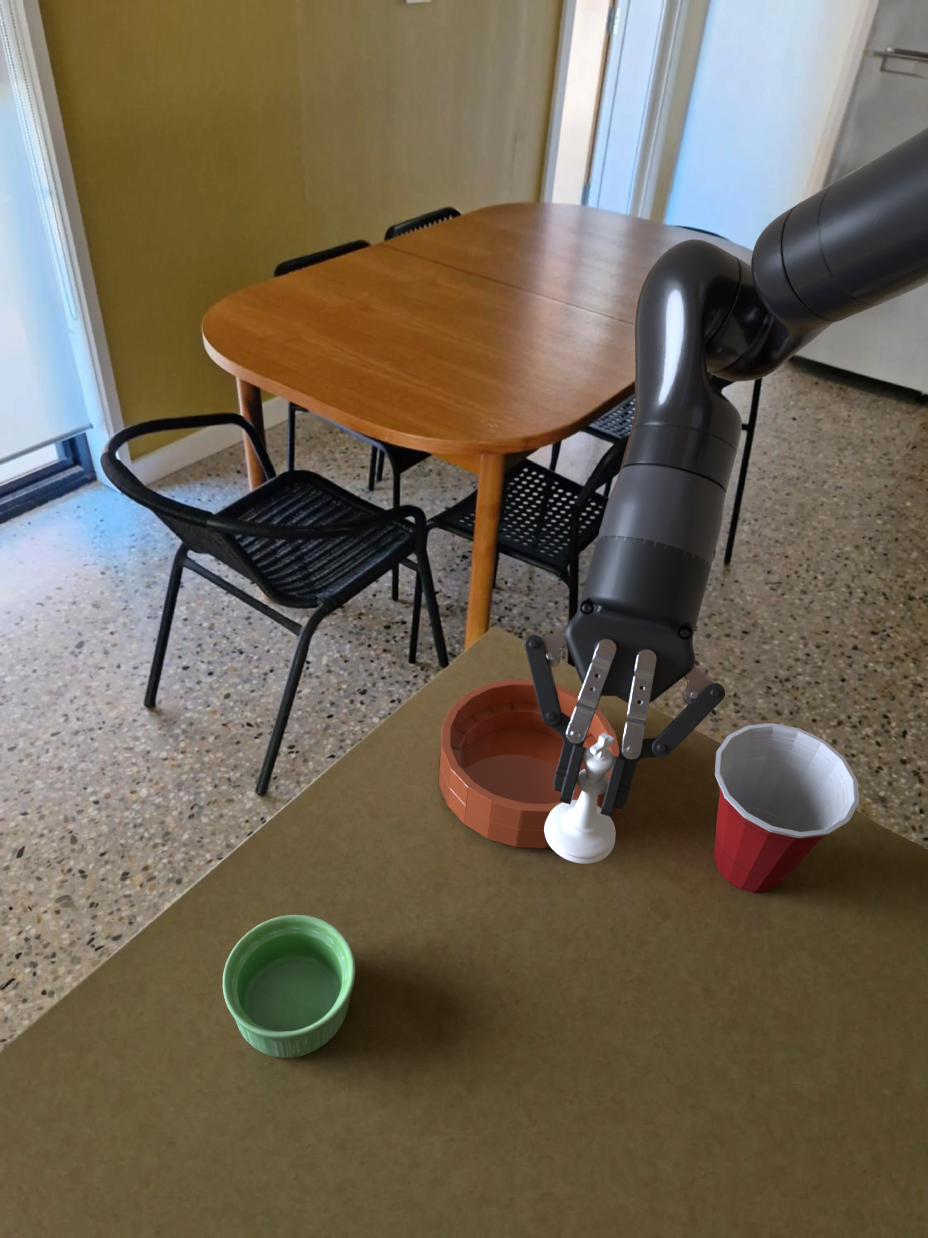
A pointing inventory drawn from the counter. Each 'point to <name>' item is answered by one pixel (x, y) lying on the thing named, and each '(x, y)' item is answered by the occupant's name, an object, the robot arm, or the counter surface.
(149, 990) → the counter surface
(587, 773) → the chess piece
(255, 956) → the ramekin
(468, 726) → the bowl
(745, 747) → the plastic cup
